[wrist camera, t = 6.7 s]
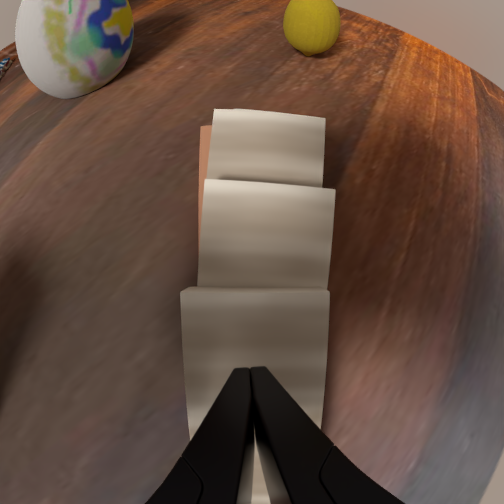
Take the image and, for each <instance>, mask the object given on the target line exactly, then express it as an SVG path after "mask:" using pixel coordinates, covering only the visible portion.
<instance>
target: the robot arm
mask: <svg viewBox="0 0 504 504" xmlns="http://www.w3.org/2000/svg"><path fill="white" fill-rule="evenodd" d="M254 430H255V432H254ZM255 440H256V446H257V451H258V455H259V459H260V463H261V467H262V471H263V475H264V479H265V483H266V487H267V491H268V495H269V499H270V503H271V504H405V503H404V502H402V501H401V500H399V499H398V498H397V497H395V496H394V495H392V494H391V493H390V492H388V491H387V490H385V489H384V488H383V487H381V486H380V485H379V484H377V483H376V482H375V481H373V480H372V479H371V478H370V477H368V476H367V475H366V474H365V473H363V472H362V471H361V470H360V469H359V468H357V467H356V466H355V465H354V464H353V463H352V462H351V461H350V460H349V459H348V458H347V457H346V456H345V455H344V454H343V453H342V452H341V451H340V450H339V449H338V447H337V446H334V443H333V442H332V441H331V440H330V439H329V438H328V437H327V436H326V435H325V434H324V433H323V431H322V430H321V429H320V428H319V427H318V426H317V425H316V424H315V423H314V421H313V420H312V419H311V418H310V417H309V416H308V415H307V414H306V413H305V411H304V410H303V409H302V408H301V407H300V406H299V405H298V403H297V402H296V401H295V400H294V399H293V398H292V397H291V395H290V394H289V393H288V392H287V391H286V390H285V388H284V387H283V386H282V385H281V384H280V383H279V381H278V380H277V379H276V378H275V377H274V375H273V374H272V373H271V372H270V371H269V370H268V368H267V367H266V366H255V367H251V368H250V369H249V368H248V367H239V368H234V369H233V370H232V372H231V374H230V376H229V377H228V379H227V381H226V382H225V384H224V386H223V388H222V389H221V391H220V393H219V394H218V396H217V398H216V399H215V401H214V403H213V404H212V406H211V408H210V409H209V411H208V413H207V414H206V416H205V418H204V419H203V421H202V423H201V424H200V426H199V428H198V429H197V431H196V432H195V434H194V436H193V437H192V439H191V441H190V442H189V444H188V445H187V447H186V449H185V450H184V452H183V453H182V457H180V458H179V459H178V461H177V463H176V464H175V466H174V467H173V469H172V470H171V472H170V473H169V475H168V476H167V477H166V479H165V480H164V482H163V483H162V484H161V485H160V487H159V488H158V489H157V490H156V491H155V493H154V494H153V495H152V496H151V497H150V499H149V500H148V501H147V502H146V503H145V504H251V500H252V485H253V470H254V455H255Z"/></svg>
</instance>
